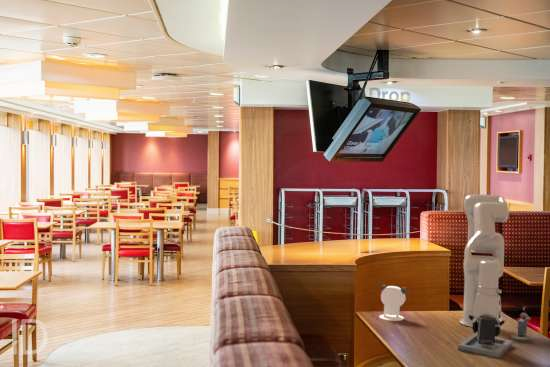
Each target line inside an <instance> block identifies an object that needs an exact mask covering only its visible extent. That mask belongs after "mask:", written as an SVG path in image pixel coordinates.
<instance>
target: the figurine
mask: <svg viewBox="0 0 550 367" xmlns="http://www.w3.org/2000/svg"><path fill="white" fill-rule="evenodd" d="M530 321H531V317H529V315H528V314H527V313H526V312H521V313H520V315H519V319H518V320H517V321H516V323H517V327H516V329H517V333H516V334H511V335H510V340H511V341H512V342H517V343H521V344H530V343H533V337H532V336H530V335H527V330H528V323H529V322H530Z"/></svg>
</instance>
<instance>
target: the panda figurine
mask: <svg viewBox="0 0 550 367" xmlns="http://www.w3.org/2000/svg"><path fill="white" fill-rule="evenodd" d="M380 289H381V294H380V300H381V303H382V304H383V314H380V315H379V318H380V319H381V320H383V321H389V322H400V321H403V320H405V317H404V316H402V315H400V310H402V306H403V304H404V303H405V302H406V299H407V298H406V297H407V296H406V293H407V291H408V289H407V287H406V286H403V287H402V288H401V287H399V286H395V285H388V286H387V285H386V284H383V285H381V286H380Z"/></svg>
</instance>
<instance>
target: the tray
mask: <svg viewBox="0 0 550 367" xmlns="http://www.w3.org/2000/svg"><path fill="white" fill-rule="evenodd" d="M476 336H477V333H472V334H471V335H469V336H468V337H467V338H465V339H464V340H463V341H461V342H460V343H458V344H457V351H459V350H460V351H459V352H465V353H469V354H475V355H479V354H480V356H484V355H485V356H484V357H489V356H491V358H494V357H495V359H500V358H501V357H503V355H504V354H505V353H506V352H507V351H508V350H509V349H510V348H512V346H513V340H511V339H506V338H505V339H504V338H499V337H495V344H494V345H485V344H479V343H478V340H477V337H476Z"/></svg>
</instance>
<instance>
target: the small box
mask: <svg viewBox="0 0 550 367" xmlns="http://www.w3.org/2000/svg"><path fill="white" fill-rule="evenodd" d="M495 329H496V319H493V318H489V317H483V316H479V318H478V329H477V332H476V334H477V336H476V337H477V340H478V343H479V344H485V345H494V344H495V338H496V337H495Z"/></svg>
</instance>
